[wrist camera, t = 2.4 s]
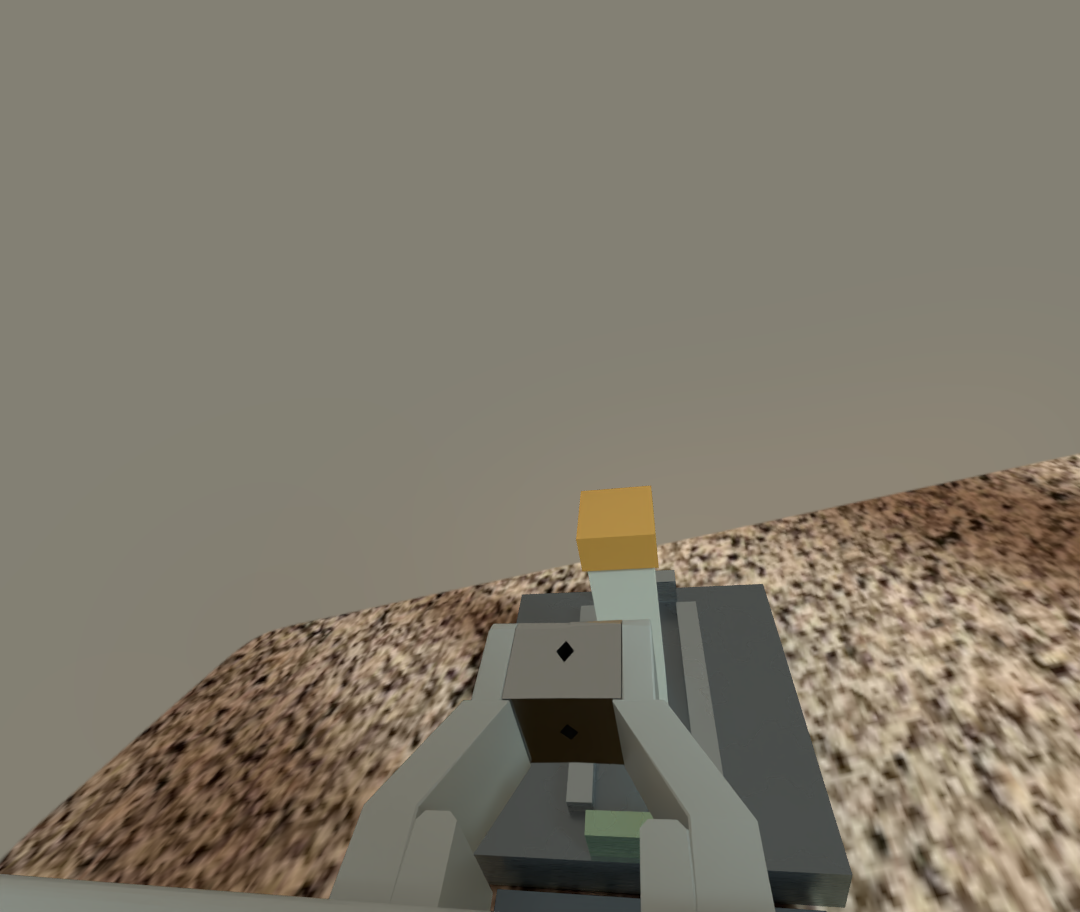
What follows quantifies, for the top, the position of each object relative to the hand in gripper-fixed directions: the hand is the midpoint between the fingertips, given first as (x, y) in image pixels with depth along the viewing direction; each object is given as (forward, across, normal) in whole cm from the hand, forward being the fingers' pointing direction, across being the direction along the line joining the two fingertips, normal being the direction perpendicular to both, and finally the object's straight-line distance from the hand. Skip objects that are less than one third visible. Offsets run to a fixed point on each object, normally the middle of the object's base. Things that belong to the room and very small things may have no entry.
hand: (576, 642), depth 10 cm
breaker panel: (+12, 0, +22) cm, 25 cm away
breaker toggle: (+12, 0, +19) cm, 22 cm away
